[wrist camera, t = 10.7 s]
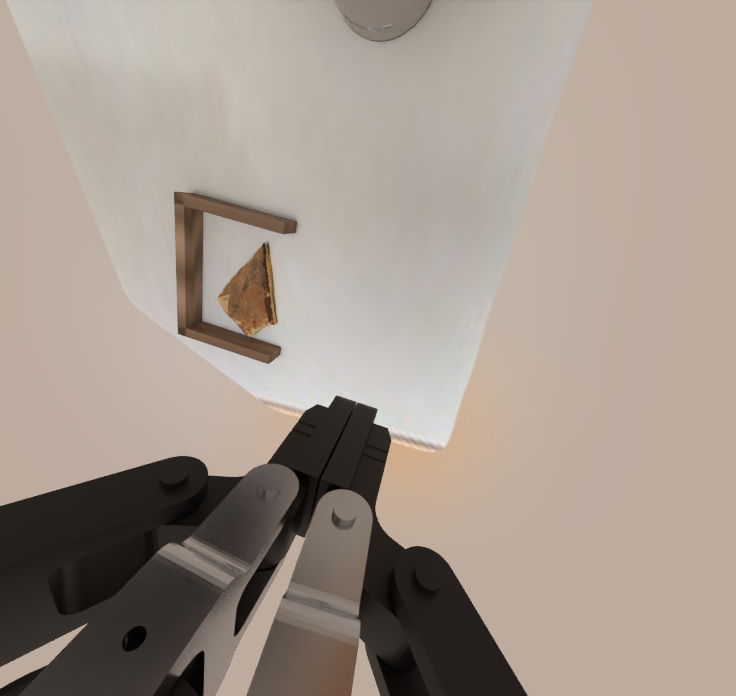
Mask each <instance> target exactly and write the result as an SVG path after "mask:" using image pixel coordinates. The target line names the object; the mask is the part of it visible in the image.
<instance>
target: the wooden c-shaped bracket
mask: <svg viewBox="0 0 736 696" xmlns="http://www.w3.org/2000/svg"><path fill="white" fill-rule="evenodd" d="M174 205H175V241H176V278H177V314H178V334H180V335H183V336H186V337H189V338H192V339H195V340H198V341H201V342H204V343H207V344H210V345H213V346H216V347H219V348H222V349H225V350H228V351H231V352H234V353H237V354H240V355H243V356H246V357H249V358H252V359H255V360H258V361H261V362H264V363H267V364H269V363H270V362H272V361H273V360H274V359H275V358H277V357H278V356H279V355H280V349H281V347H279V346H276V345H273V344H269V343H266V342H263V341H260V340H257V339H254V338H251V337H248V336H245V335H242V334H239V333H236V332H233V331H230V330H227V329H224V328H221V327H217V326H214V325H211V324H208V323H205V322H202V239H203V212H207V213H210V214H214V215H218V216H221V217H225V218H228V219H232V220H235V221H239V222H242V223H246V224H249V225H253V226H256V227H260V228H263V229H267V230H271V231H274V232H278V233H281V234H289V233H295V231H296V223H297V222H295V221H291V220H288V219H284V218H281V217H277V216H273V215H270V214H266V213H263V212H259V211H255V210H252V209H248V208H245V207H241V206H237V205H234V204H230V203H226V202H223V201H219V200H216V199H212V198H208V197H205V196H201V195H198V194H194V193H184V192H174Z"/></svg>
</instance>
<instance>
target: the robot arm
mask: <svg viewBox="0 0 736 696" xmlns="http://www.w3.org/2000/svg"><path fill="white" fill-rule="evenodd" d="M334 1H335V3H336V5H337V6H338V8H339V10H340V12H341V14H342V16H343V18H344V19H345V21H346V22H347V24H348V25H349V26H350V27H351V28H352V29H353V31H355V32H356V33H358V34H359V35H361V36H362V37H364V38H367V39H370V40H375V41H385V40H389V39H394V38H396V37H398V36H400V35H402V34H404V33H405V32H406V31H408V30H409V29H410V28H411V27H413V26H414V25H415V24H416V23H417V21H418V20H419V19H420V18H421V17H422V15H423V14H424V13H425V11H426V9H427V7H428V6H429V4H430V2H431V0H334ZM377 410H378V409H376V408H373V407H370V406H367V405H364V404H361V403H357V405H356V402H355V401H352V400H349V399H346V398H343V397H340V396H336V397H335V398H334V400H333V402H332V403H331V405H330V406H329V408H327V407H324V406H321V405H318V404H317V405H315V406H313V407H312V408H310V409H308V410H306V411H305V412H304V414H303V415H302V417H301V418H300V419H299V421H298V423H297V424H296V425H295V426H294V428H293V429H292V431H291V432H290V433H289V434H288V436H287V437H286V438H285V440H284V441H283V443H282V444H281V445H280V447H279V448H278V449H277V451H276V453H275V454H274V455H273V456H272V458H271V459H270V460H269V462H268V463H267V464H264V465H261V466H258V467H256V468H254V469H252V470H251V471H249V472H248V473H247V474H246V475H245V476H242V477H222V476H208V470H207V468H206V466H205V464H204V463H203V462H202V461H200V460H199V459H196V458H193V457H188V456H177V457H172V458H168V459H164V460H161V461H157V462H153V463H150V464H146V465H143V466H140V467H136V468H133V469H129V470H125V471H122V472H119V473H115V474H111V475H108V476H104V477H101V478H97V479H94V480H91V481H87V482H84V483H80V484H77V485H73V486H69V487H66V488H62V489H59V490H56V491H52V492H48V493H45V494H41V495H38V496H34V497H31V498H27V499H24V500H21V501H17V502H13V503H10V504H6V505H3V506H0V667H1V666H3V665H5V664H7V663H9V662H11V661H13V660H15V659H17V658H19V657H21V656H23V655H25V654H27V653H29V652H31V651H33V650H35V649H37V648H39V647H41V646H43V645H45V644H47V643H49V642H51V641H53V640H55V639H57V638H59V637H61V636H63V635H65V634H67V633H69V632H71V631H72V630H75V629H77V628H79V627H81V626H82V625H85V624H87V623H88V624H87V625H86V626H85V627H84V628H83V629H82V630H81V631H80V632H79V633H78V634H77V635H76V637H75V638H74V639H73V640H72V641H71V642H70V643H69V644H68V645H67V646H66V647H65V648H64V649H63V650H62V651H61V652H60V653H59V654H58V655H57V656H56V657H55V659H53V660H52V661H51V663H50V664H49V665H47V666H44V667H42V668H40V669H38V670H36V671H33V672H31V673H29V674H27V675H25V676H23V677H21V678H19V679H17V680H15V681H13V682H11V683H10V684H8V685H6V686H4V687H3V688H1V689H0V696H215V694H216V692H217V690H218V689H219V687H220V685H221V683H222V681H223V679H224V677H225V674H226V672H227V670H228V668H229V665H230V663H231V660H232V657H233V655H234V652H235V650H236V648H237V645H238V644H239V642H240V640H241V638H242V636H243V634H244V632H245V631H246V629H247V627H248V625H249V623H250V621H251V620H252V618H253V616H254V615H255V613H256V611H257V609H258V607H259V605H260V604H261V602H262V600H263V598H264V597H265V595H266V593H267V591H268V589H269V588H270V586H271V584H272V582H273V580H274V579H275V577H276V575H277V573H278V572H279V570H280V568H281V566H282V564H283V562H284V559H285V556H286V554H287V552H288V550H289V548H290V546H291V544H292V542H293V540H294V538H295V536H296V535H299V536H301V537H305V536H306V538H305V541H304V544H303V546H302V549H301V552H300V555H299V558H298V561H297V563H296V566H295V569H294V572H293V575H292V578H291V580H290V583H289V586H288V589H287V591H286V593H285V594H284V596H283V598H282V600H281V602H280V605H279V608H278V610H277V613H276V615H275V618H274V621H273V624H272V626H271V629H270V632H269V635H268V637H267V640H266V643H265V646H264V648H263V651H262V654H261V657H260V660H259V663H258V665H257V668H256V671H255V674H254V676H253V679H252V682H251V685H250V687H249V690H248V693H247V696H351V692H352V685H353V678H354V671H355V664H356V657H357V651H358V644H359V638H360V639H361V640H362V641H363V642H364V643H365V646H366V652H367V656H368V659H369V662H370V665H371V668H372V671H373V674H374V677H375V681H376V684H377V687H378V690H379V693H380V696H527V694H526V692H525V691H524V689H523V687H522V686H521V684H520V682H519V681H518V679H517V677H516V676H515V674H514V672H513V671H512V669H511V667H510V665H509V664H508V662H507V661H506V659H505V657H504V655H503V654H502V652H501V650H500V649H499V647H498V645H497V644H496V642H495V640H494V639H493V637H492V636H491V634H490V632H489V631H488V629H487V627H486V625H485V624H484V622H483V621H482V619H481V617H480V615H479V614H478V612H477V611H476V609H475V607H474V606H473V604H472V602H471V601H470V599H469V597H468V595H467V594H466V592H465V590H464V589H463V587H462V585H461V584H460V582H459V581H458V579H457V577H456V576H455V574H454V572H453V570H452V569H451V567H450V566H449V564H448V563H447V562H446V561H445V560H444V559H443V558H442V557H441V556H440V555H439V554H438V553H436V552H435V551H433V550H431V549H429V548H425V547H421V546H414V547H410V548H408V549H404V548H403V547H402V546H401V545H399V544H398V543H397V542H395V541H394V540H393V539H392V538H390V537H389V536H388V535H387V534H386V533H385V531H384V530H383V529H382V527H381V526H380V524H379V522H378V520H377V517H376V512H375V505H376V500H377V495H378V492H379V488H380V484H381V479H382V476H383V472H384V467H385V463H386V459H387V455H388V451H389V447H390V443H391V438H390V434H389V431H388V428H385V427H382V426H379V425H376V424H374V420H375V417H376V413H377ZM307 531H308V532H307ZM306 533H307V535H306Z"/></svg>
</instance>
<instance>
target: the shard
mask: <svg viewBox="0 0 736 696" xmlns="http://www.w3.org/2000/svg"><path fill="white" fill-rule="evenodd" d="M271 270H272V269H271V262H270V258H269V251H268V248H267V245H266V243H263V245H262V246H261V247H260V249H258V251H257V252H256V253H255V254H254V256H253V258H251V259H250V261H249V262H248V263H247V264H246V265H245V266H243V267H242V268H241V269H240V270H239V271H238V273H237V274H236V275H235V276H233V278H232V279H231V280H230V282H229V283H227V285H226V286H225V288H224V289H223V292H222V293H221V294H220V295H219V296H218V301H219V303H220V305H221V306H222V308H223V309H224V311H225V312H226V313H227V314H228V315H229V317H230V318H231V319H233V321H234V322H235V323H236V324H237V325H238V326H239V327H240V328H241V330H242V331H243V332H244V333H245V334H246V335H247V336H249V337H251V336H252V335H254V333H256V332H257V331H258V330H259V329H261V328H263V327H265V326H267V325H275V324H276V322H277V319H276V315H275V311H274V302H273V298H272V292H273V285H272V272H271Z"/></svg>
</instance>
